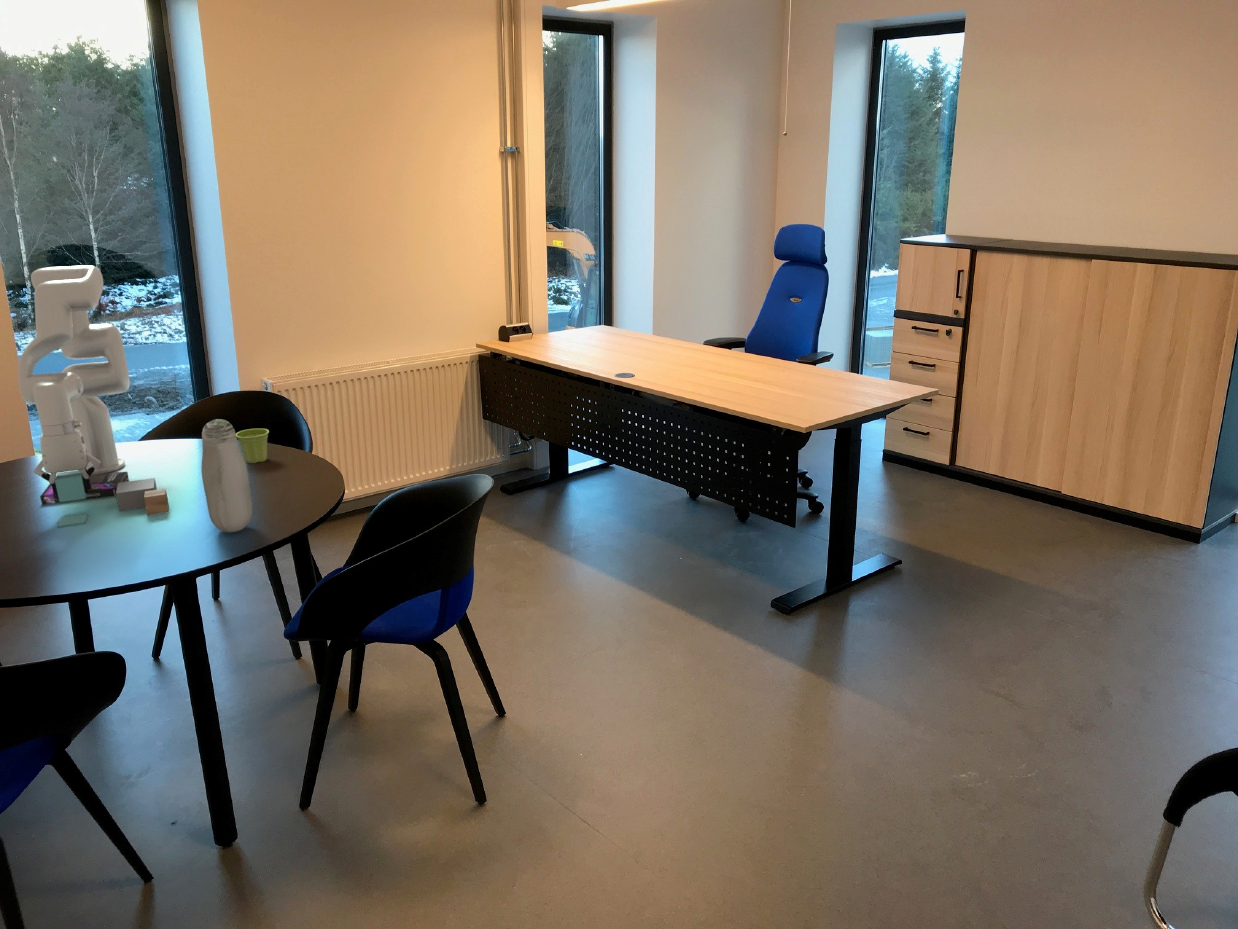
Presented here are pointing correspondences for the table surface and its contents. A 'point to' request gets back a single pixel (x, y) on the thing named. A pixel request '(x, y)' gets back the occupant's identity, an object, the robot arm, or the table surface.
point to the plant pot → (253, 444)
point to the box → (92, 487)
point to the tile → (73, 520)
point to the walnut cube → (156, 501)
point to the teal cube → (70, 486)
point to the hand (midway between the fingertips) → (73, 493)
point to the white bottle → (225, 477)
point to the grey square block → (133, 493)
